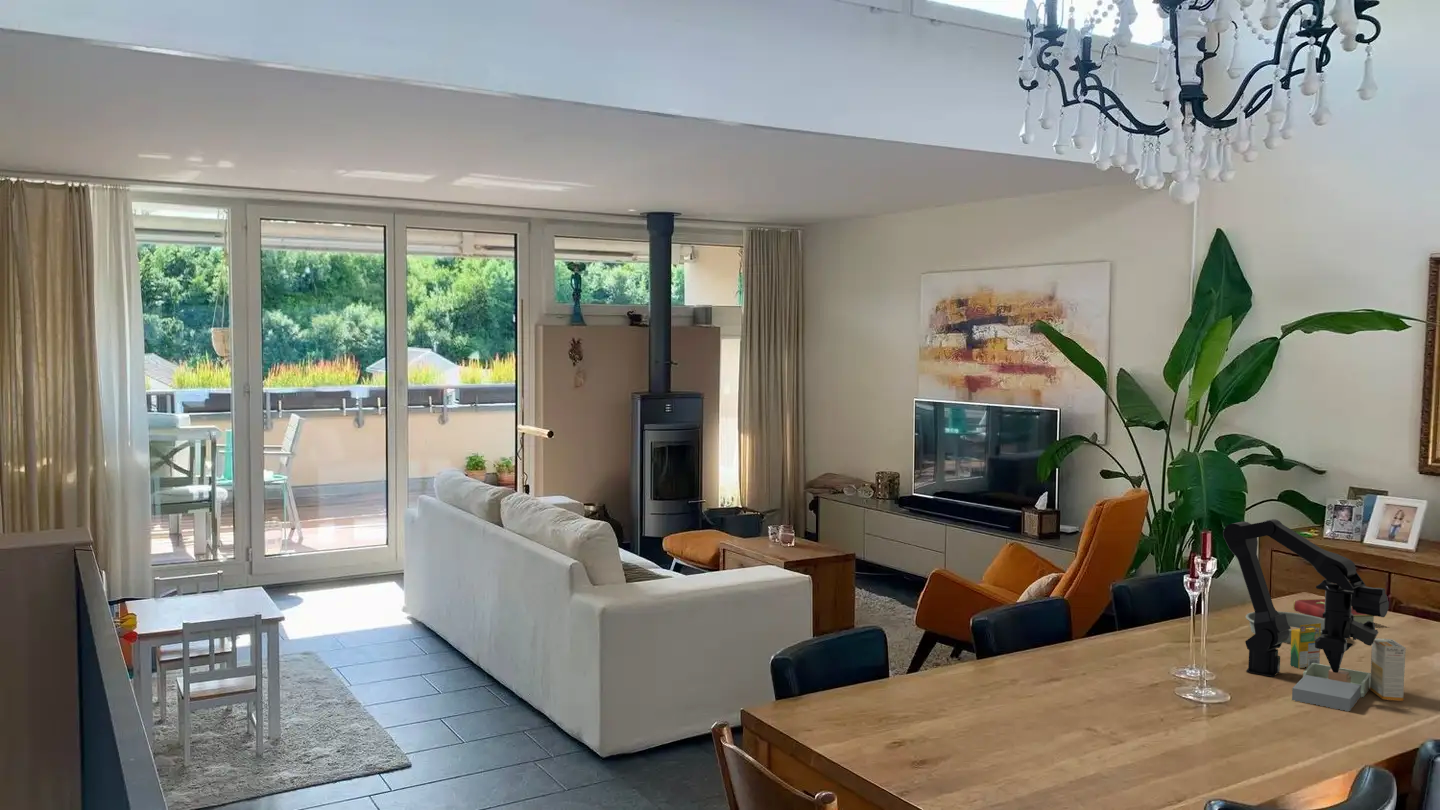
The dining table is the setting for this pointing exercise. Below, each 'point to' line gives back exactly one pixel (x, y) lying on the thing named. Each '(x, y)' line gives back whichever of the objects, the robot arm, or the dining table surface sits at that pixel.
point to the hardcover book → (1318, 608)
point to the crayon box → (1305, 646)
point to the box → (1356, 676)
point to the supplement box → (1387, 669)
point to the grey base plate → (1326, 692)
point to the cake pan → (1292, 621)
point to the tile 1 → (1339, 676)
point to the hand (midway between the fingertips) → (1335, 672)
